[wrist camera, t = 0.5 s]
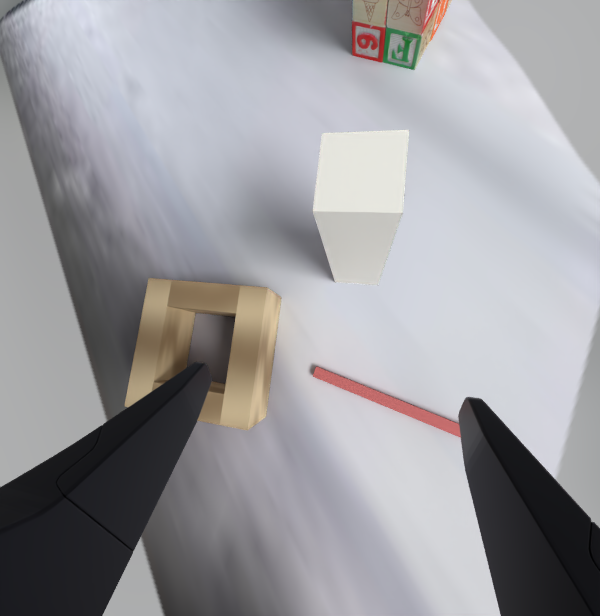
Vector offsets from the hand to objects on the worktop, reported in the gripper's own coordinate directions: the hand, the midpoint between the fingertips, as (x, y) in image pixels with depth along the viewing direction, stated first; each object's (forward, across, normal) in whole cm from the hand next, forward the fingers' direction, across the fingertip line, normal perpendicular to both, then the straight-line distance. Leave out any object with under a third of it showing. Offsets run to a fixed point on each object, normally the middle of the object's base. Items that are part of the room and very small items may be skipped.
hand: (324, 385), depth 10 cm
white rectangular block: (+15, -1, +3) cm, 16 cm away
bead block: (+10, +11, +9) cm, 17 cm away
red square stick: (+8, -5, +11) cm, 14 cm away
